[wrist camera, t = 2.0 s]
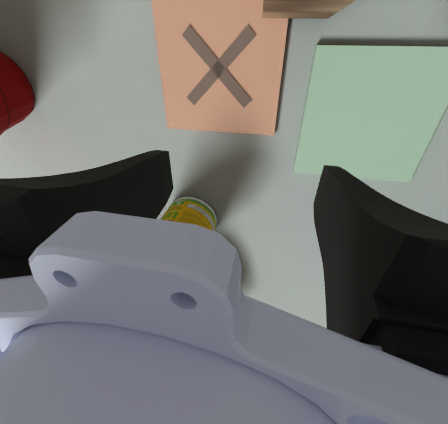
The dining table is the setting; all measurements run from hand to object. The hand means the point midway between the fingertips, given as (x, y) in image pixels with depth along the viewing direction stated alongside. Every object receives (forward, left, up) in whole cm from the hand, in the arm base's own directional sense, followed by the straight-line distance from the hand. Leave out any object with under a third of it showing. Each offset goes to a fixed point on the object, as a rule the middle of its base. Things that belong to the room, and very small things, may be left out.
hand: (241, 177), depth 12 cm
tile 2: (-8, 0, -10) cm, 13 cm away
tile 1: (+3, -3, -10) cm, 11 cm away
